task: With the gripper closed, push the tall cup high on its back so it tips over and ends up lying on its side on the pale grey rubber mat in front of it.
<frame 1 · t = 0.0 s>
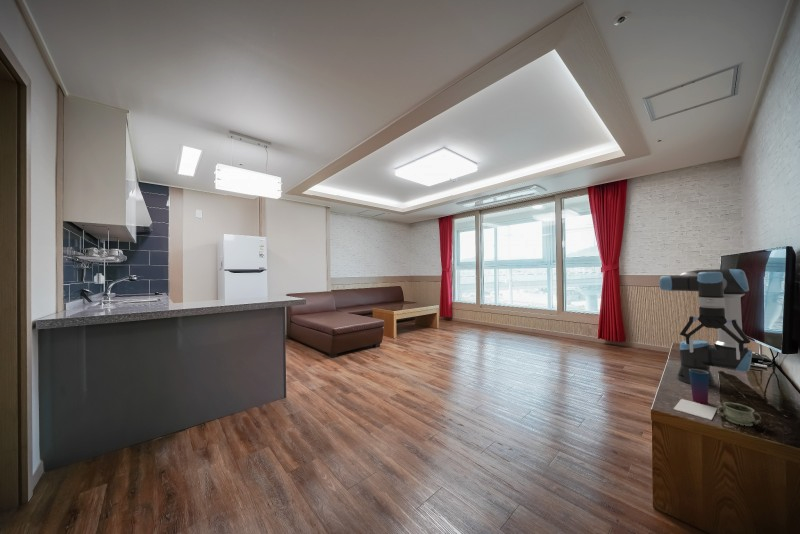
hand: (713, 355, 121), 28 cm above the tv stand, tool pointing down, fingers open, 13 cm apart
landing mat: (695, 409, 130), on the tv stand
cup: (700, 402, 137), on the tv stand
vessel: (739, 421, 119), on the tv stand
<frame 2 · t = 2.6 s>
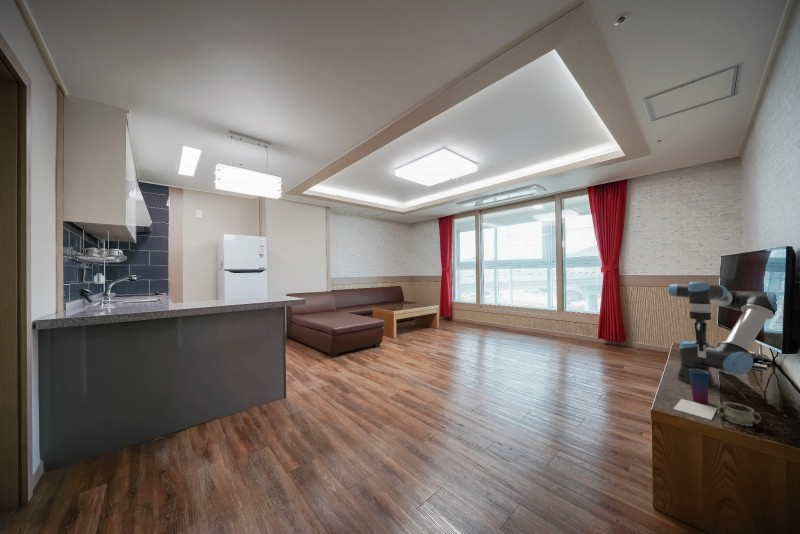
hand: (702, 357, 143), 20 cm above the tv stand, tool pointing down, fingers closed
nothing on the tv stand moved.
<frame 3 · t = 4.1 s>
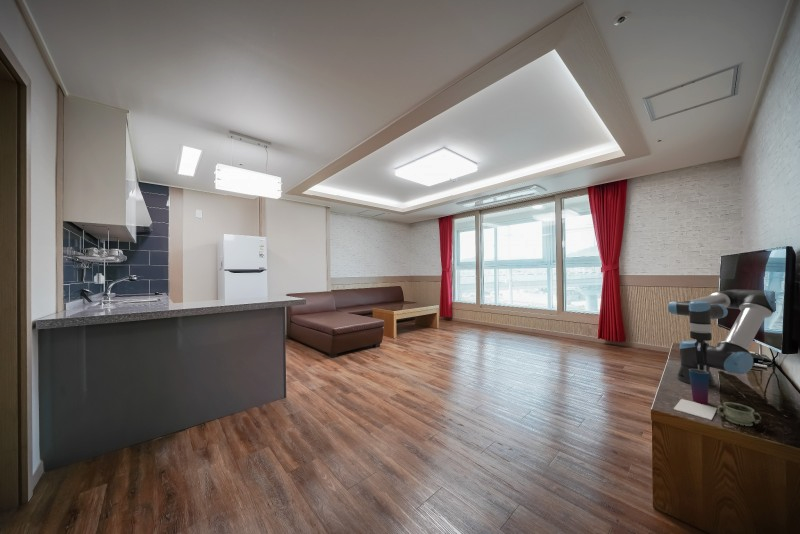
hand: (702, 377, 142), 10 cm above the tv stand, tool pointing down, fingers closed
nothing on the tv stand moved.
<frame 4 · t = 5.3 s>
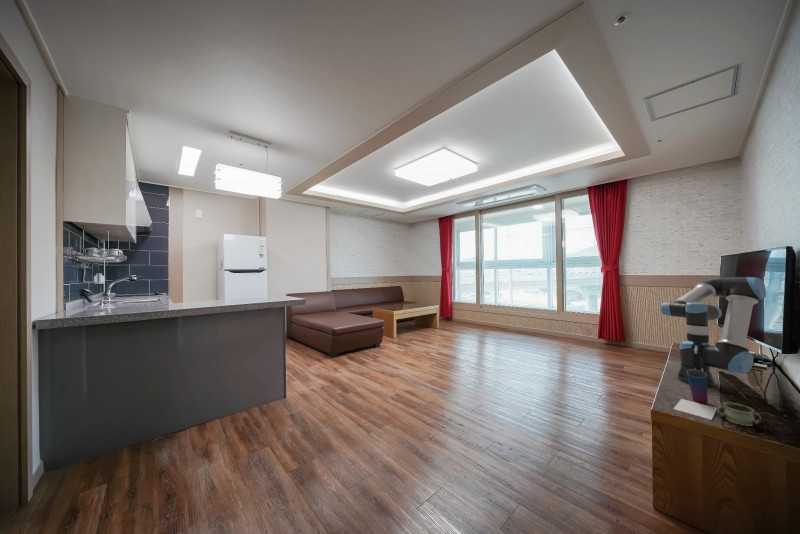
hand: (699, 381, 138), 10 cm above the tv stand, tool pointing down, fingers closed
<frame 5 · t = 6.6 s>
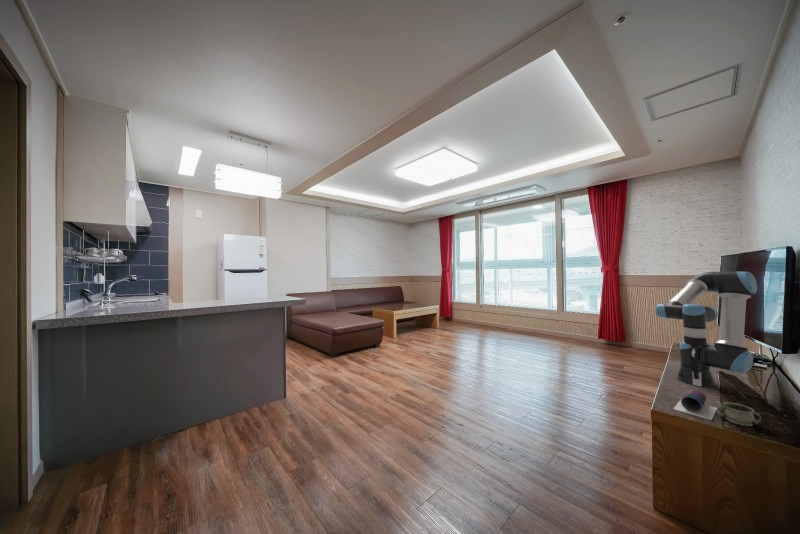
hand: (697, 385, 134), 9 cm above the tv stand, tool pointing down, fingers closed
cup: (698, 396, 135), point 3 cm above the tv stand, touching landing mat
everything else where it was.
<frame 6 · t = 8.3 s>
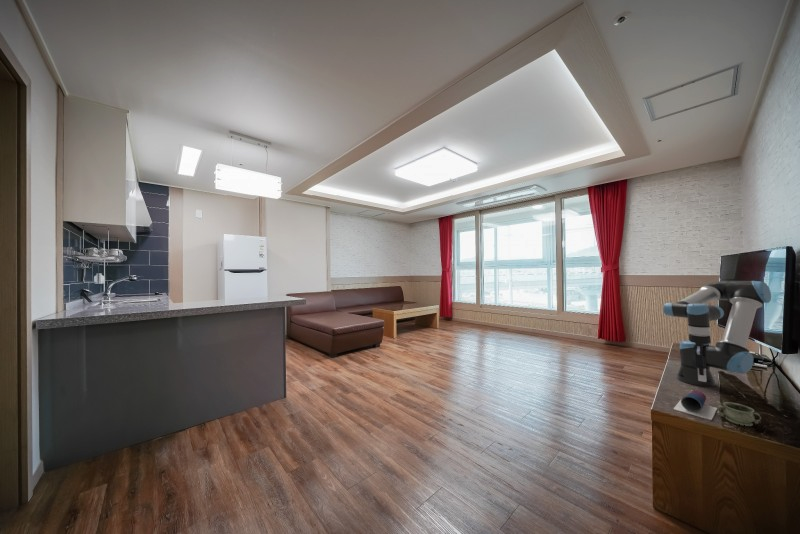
hand: (702, 380, 140), 9 cm above the tv stand, tool pointing down, fingers closed
nothing on the tv stand moved.
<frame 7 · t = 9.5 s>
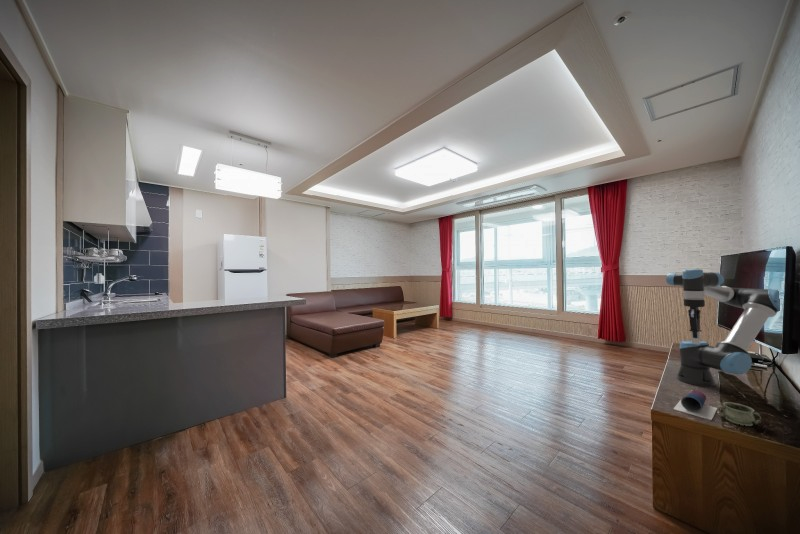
hand: (696, 343, 144), 26 cm above the tv stand, tool pointing down, fingers closed
nothing on the tv stand moved.
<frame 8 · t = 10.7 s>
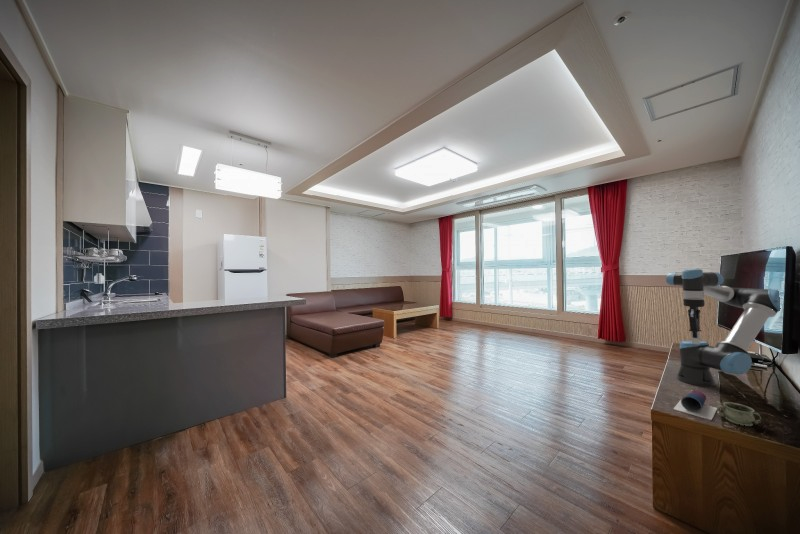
hand: (695, 343, 144), 26 cm above the tv stand, tool pointing down, fingers closed
nothing on the tv stand moved.
at the end: cup tilted 88°; cup inside the target area (6.7 cm from its centre), point 3.3 cm above the tv stand; vessel moved 0.3 cm from its start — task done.
